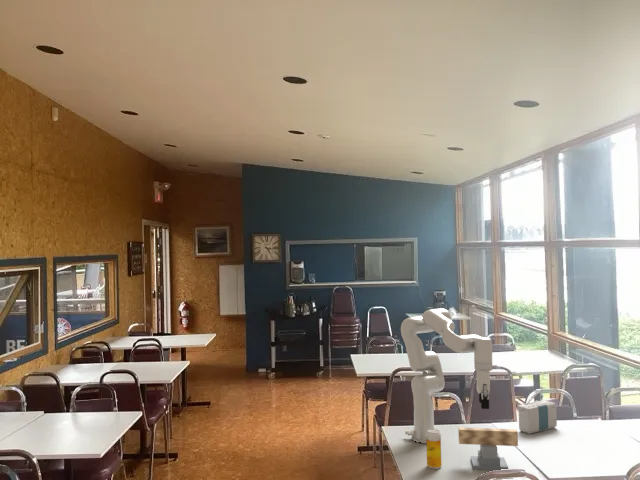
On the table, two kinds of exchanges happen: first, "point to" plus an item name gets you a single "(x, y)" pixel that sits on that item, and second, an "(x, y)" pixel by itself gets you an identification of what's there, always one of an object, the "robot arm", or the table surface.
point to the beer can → (433, 448)
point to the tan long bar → (488, 436)
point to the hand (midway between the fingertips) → (484, 405)
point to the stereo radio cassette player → (537, 416)
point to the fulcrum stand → (488, 459)
